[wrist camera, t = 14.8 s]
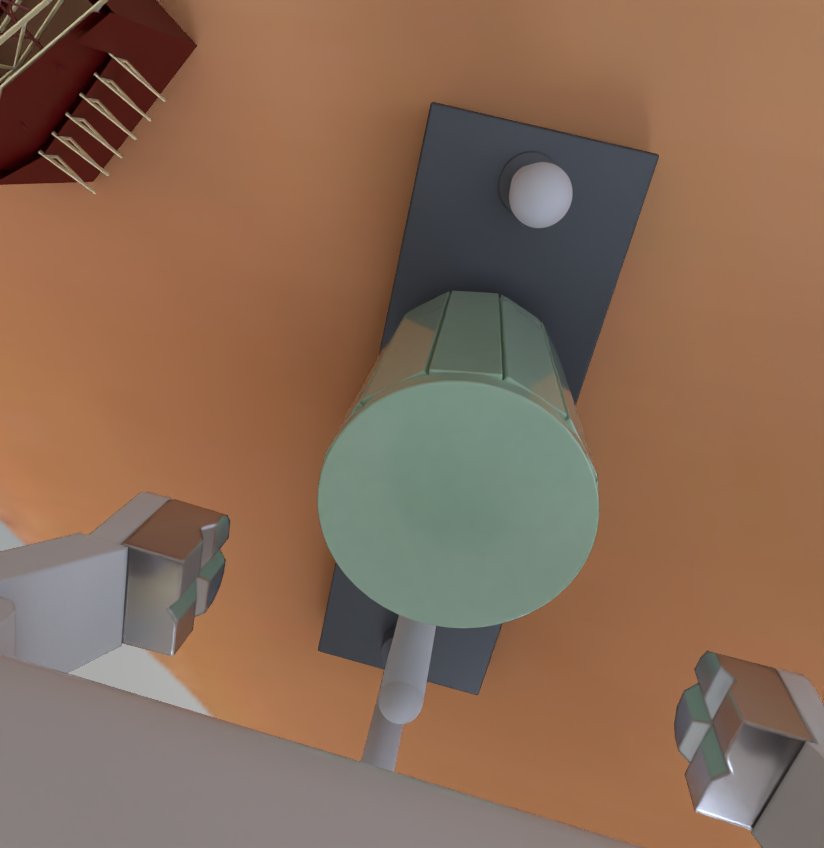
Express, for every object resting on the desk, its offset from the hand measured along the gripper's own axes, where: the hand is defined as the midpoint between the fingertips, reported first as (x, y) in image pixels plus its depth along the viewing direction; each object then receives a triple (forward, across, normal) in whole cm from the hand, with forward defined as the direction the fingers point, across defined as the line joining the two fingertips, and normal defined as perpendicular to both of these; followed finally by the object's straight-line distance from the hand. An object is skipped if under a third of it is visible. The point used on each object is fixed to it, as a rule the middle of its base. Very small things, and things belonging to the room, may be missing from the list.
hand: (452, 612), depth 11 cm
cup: (+12, +1, 0) cm, 12 cm away
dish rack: (+16, 0, +3) cm, 16 cm away
